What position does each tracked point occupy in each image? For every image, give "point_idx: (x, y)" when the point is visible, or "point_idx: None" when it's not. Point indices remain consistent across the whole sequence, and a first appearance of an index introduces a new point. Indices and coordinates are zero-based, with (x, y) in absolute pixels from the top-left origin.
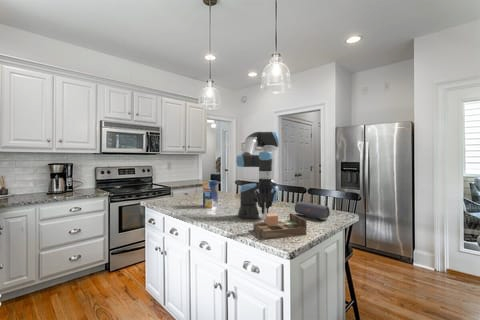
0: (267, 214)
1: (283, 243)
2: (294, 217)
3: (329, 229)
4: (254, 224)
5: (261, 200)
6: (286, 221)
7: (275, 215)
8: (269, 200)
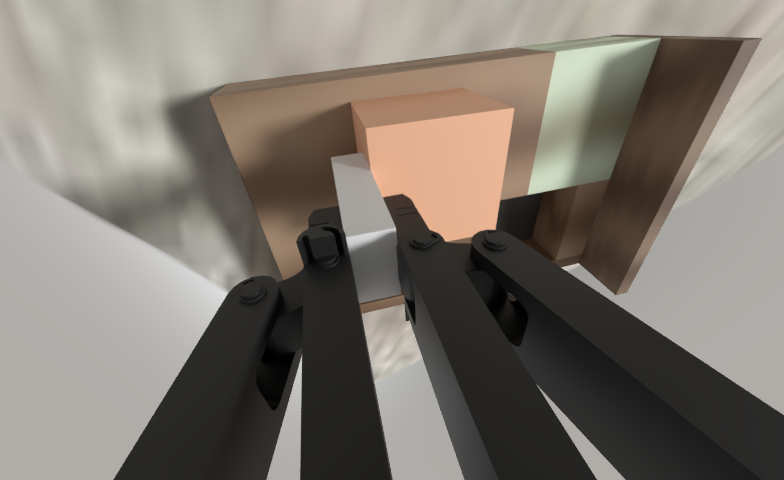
0: (407, 160)
1: (384, 331)
2: (663, 153)
3: (734, 168)
4: (226, 133)
5: (306, 411)
6: (584, 105)
7: (480, 216)
8: (556, 336)
